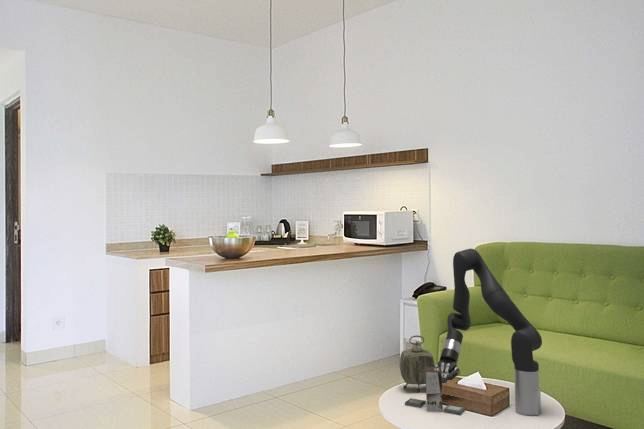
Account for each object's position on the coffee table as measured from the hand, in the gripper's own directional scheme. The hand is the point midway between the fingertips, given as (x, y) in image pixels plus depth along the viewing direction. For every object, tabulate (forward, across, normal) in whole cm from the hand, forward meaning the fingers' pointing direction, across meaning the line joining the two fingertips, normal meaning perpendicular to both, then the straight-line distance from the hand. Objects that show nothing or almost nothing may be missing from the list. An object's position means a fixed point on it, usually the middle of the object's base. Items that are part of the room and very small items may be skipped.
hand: (441, 386), depth 237 cm
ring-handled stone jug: (-2, -15, +12) cm, 19 cm away
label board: (+10, 0, -1) cm, 10 cm away
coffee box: (+11, 0, -1) cm, 11 cm away
